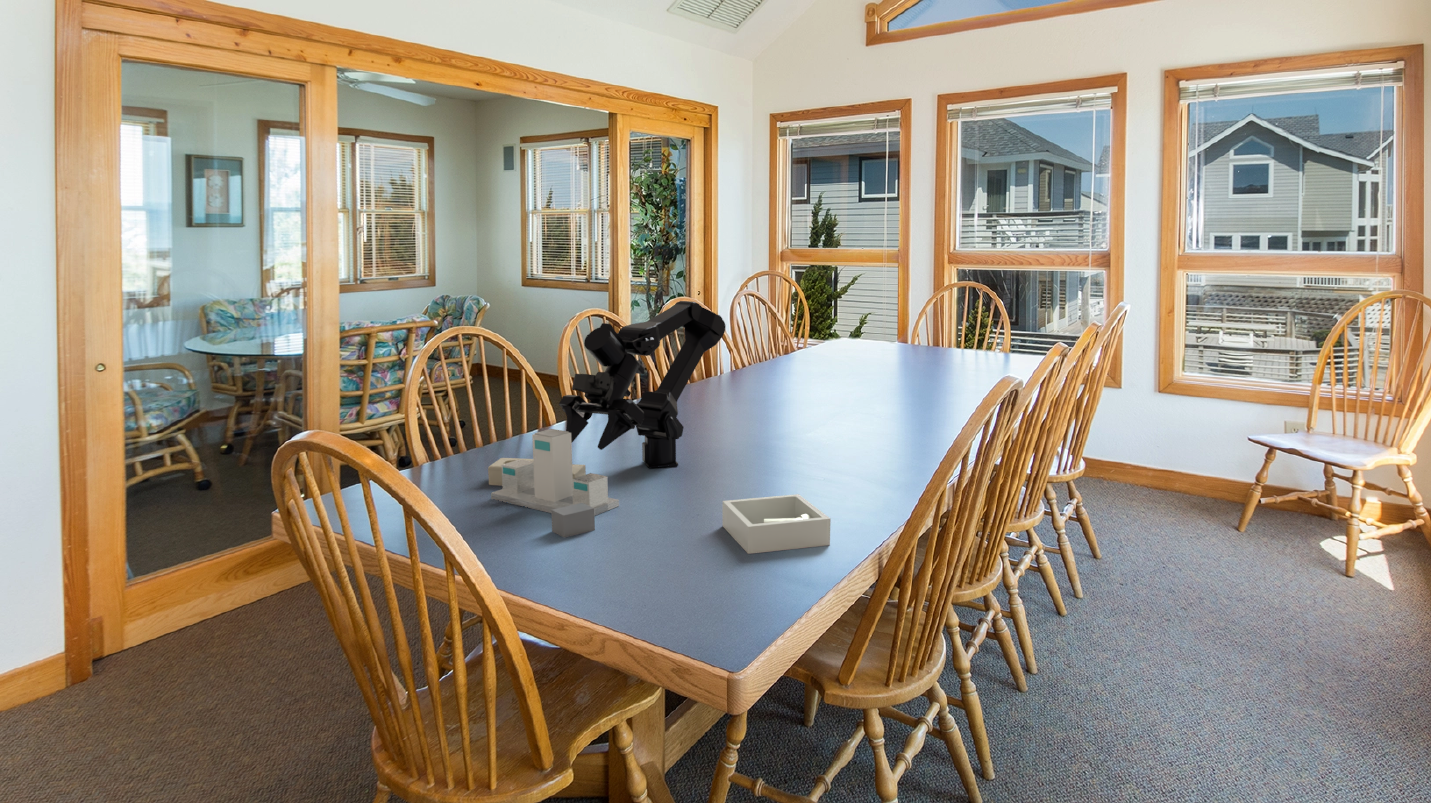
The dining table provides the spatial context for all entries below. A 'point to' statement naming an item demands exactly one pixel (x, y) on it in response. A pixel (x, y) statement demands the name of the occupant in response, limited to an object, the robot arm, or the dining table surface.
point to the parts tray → (775, 523)
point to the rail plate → (522, 493)
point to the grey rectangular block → (573, 520)
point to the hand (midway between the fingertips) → (582, 446)
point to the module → (552, 464)
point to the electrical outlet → (496, 469)
